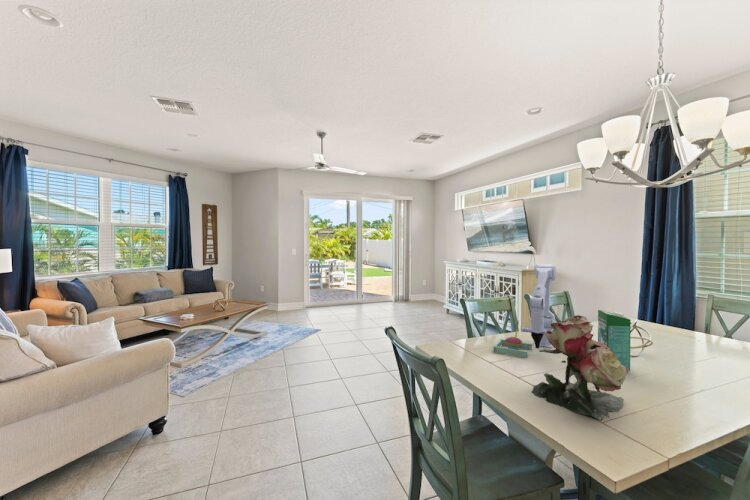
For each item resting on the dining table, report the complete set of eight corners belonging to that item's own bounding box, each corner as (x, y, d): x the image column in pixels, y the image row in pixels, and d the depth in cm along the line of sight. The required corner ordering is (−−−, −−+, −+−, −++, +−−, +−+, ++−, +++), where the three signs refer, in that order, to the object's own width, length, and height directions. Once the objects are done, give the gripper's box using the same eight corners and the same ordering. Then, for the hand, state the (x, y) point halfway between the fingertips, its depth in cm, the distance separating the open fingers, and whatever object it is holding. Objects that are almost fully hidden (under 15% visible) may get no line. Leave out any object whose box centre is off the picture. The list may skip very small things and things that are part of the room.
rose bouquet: (617, 429, 101) (617, 332, 100) (525, 394, 124) (525, 315, 123) (643, 403, 116) (644, 318, 115) (557, 376, 140) (557, 306, 139)
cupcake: (519, 348, 175) (519, 326, 175) (524, 353, 167) (524, 330, 167) (502, 348, 176) (502, 325, 176) (507, 353, 168) (507, 330, 168)
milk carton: (630, 371, 144) (630, 314, 143) (607, 369, 145) (607, 313, 145) (619, 363, 153) (619, 309, 152) (597, 362, 154) (597, 309, 154)
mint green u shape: (500, 344, 182) (500, 339, 182) (532, 349, 174) (532, 343, 174) (493, 352, 170) (493, 346, 170) (527, 358, 161) (527, 352, 161)
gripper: (520, 320, 166) (520, 347, 166) (552, 324, 158) (552, 352, 158) (522, 317, 171) (522, 343, 172) (554, 321, 163) (554, 348, 164)
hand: (537, 347), depth 165 cm, fingers closed
